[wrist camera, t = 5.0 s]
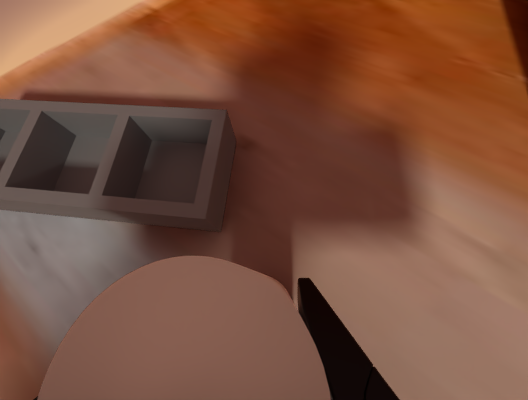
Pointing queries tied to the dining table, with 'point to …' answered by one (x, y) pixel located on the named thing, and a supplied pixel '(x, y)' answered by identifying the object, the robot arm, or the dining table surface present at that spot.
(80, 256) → the dining table surface
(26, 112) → the caddy
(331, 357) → the robot arm
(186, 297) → the beige tapered cylinder
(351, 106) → the dining table surface
